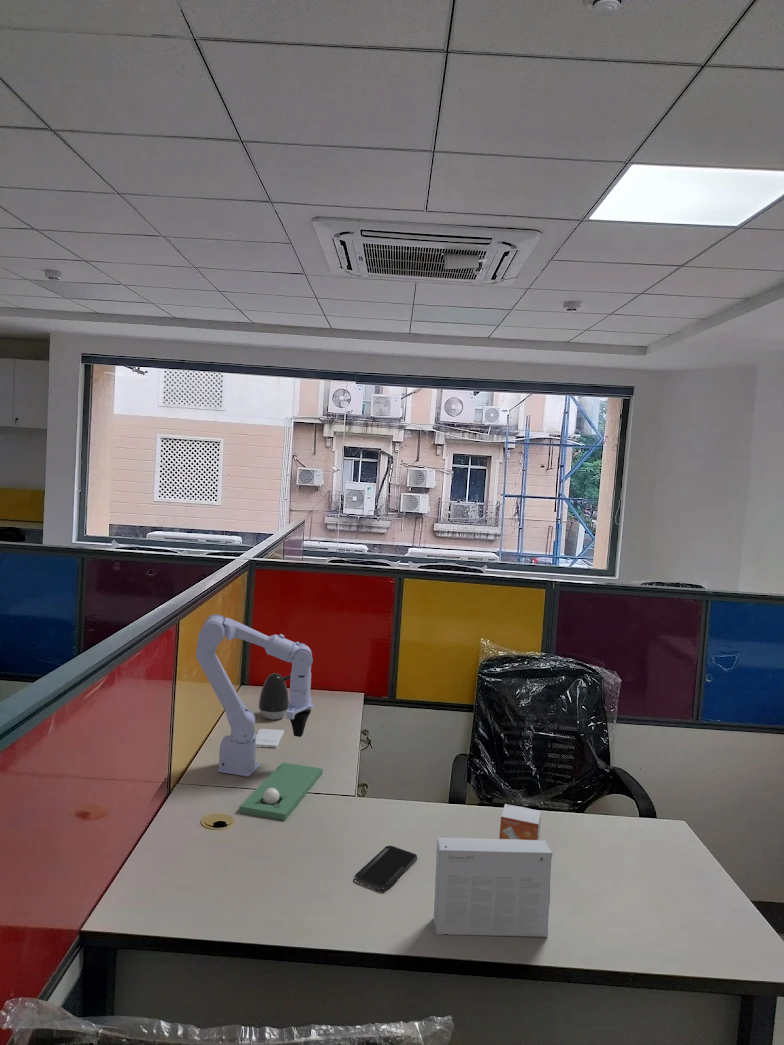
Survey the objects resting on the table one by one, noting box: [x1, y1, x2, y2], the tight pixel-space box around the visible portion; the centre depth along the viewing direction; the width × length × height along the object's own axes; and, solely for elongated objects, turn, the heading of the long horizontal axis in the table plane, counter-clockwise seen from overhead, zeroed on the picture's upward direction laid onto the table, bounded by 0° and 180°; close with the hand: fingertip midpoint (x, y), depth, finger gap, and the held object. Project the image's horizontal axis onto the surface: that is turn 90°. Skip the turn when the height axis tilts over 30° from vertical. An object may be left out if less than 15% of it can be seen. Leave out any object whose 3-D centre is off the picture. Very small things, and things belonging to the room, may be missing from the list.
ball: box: [263, 788, 279, 805], centre depth 167 cm, size 4×4×4 cm
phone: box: [354, 845, 418, 893], centre depth 142 cm, size 8×1×15 cm
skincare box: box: [433, 837, 553, 938], centre depth 125 cm, size 21×6×16 cm, turn 92°
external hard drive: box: [255, 728, 285, 748], centre depth 208 cm, size 2×8×12 cm
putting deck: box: [238, 762, 324, 821], centre depth 175 cm, size 12×27×2 cm, turn 167°
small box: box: [498, 803, 542, 840], centre depth 144 cm, size 8×6×13 cm
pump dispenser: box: [258, 672, 291, 721], centre depth 228 cm, size 10×10×15 cm
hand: (298, 735), depth 189 cm, fingers closed
